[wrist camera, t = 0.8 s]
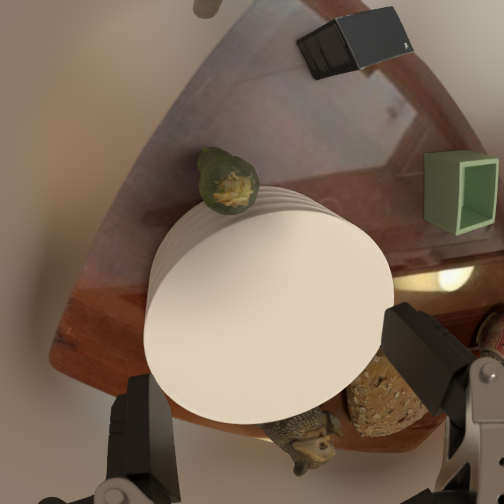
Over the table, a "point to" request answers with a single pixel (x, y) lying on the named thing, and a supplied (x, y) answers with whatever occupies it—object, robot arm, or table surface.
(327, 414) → the figurine
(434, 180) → the bin
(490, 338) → the ceramic jug
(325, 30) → the box
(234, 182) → the vegetable
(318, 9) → the table surface
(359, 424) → the bread
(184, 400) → the plate stack
